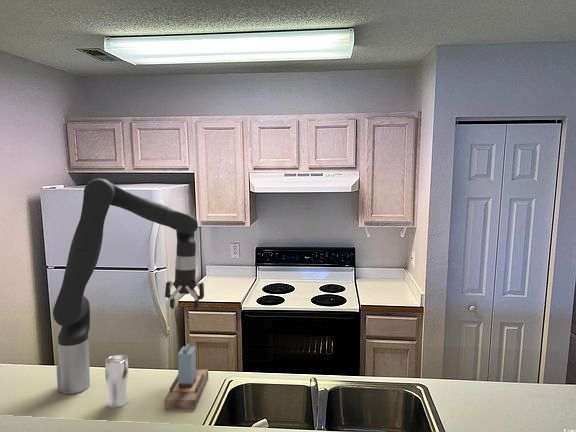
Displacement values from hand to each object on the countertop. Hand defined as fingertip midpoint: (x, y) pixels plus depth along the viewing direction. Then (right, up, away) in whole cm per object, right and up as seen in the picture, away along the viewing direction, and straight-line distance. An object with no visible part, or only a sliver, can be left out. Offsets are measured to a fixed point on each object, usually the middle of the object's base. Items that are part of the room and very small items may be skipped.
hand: (184, 308), depth 147 cm
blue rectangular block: (+5, -23, -13) cm, 27 cm away
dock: (+5, -26, -12) cm, 29 cm away
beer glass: (-17, -27, -19) cm, 37 cm away
